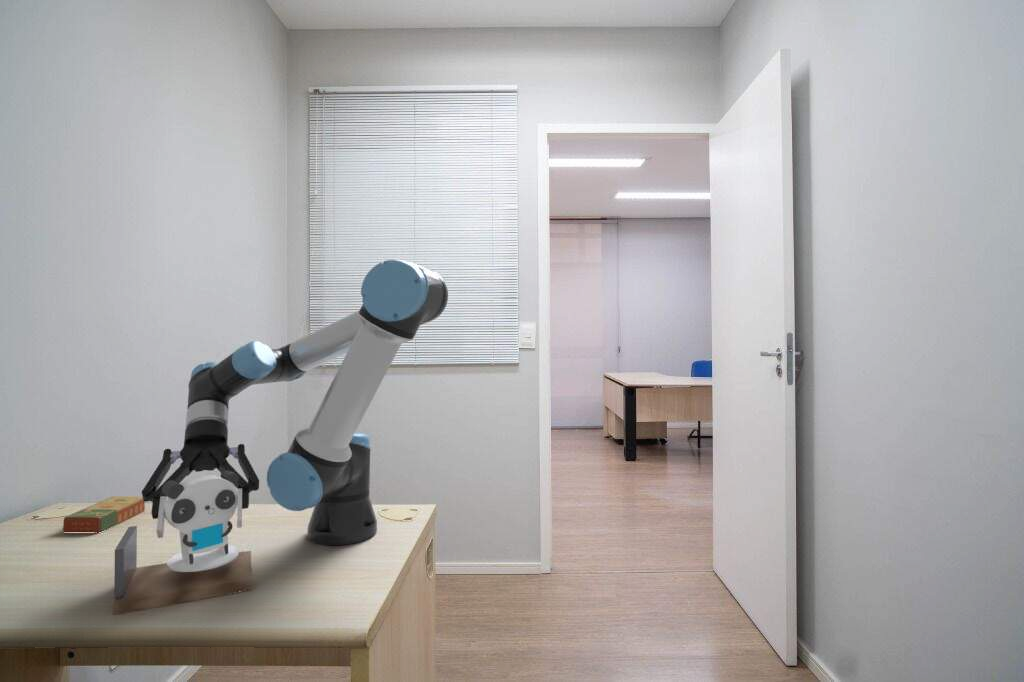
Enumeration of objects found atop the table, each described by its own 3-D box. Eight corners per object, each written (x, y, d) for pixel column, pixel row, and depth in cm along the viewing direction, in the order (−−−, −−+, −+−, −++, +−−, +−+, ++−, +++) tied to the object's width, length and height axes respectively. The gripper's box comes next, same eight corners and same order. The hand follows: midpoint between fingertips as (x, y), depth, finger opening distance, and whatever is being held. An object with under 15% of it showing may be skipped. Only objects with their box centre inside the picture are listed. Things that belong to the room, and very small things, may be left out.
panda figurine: (175, 579, 90) (176, 489, 90) (153, 560, 97) (154, 477, 97) (249, 557, 99) (250, 475, 99) (223, 542, 106) (224, 465, 106)
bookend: (136, 569, 99) (136, 525, 99) (123, 598, 88) (123, 548, 88) (128, 570, 98) (128, 526, 98) (114, 599, 87) (114, 550, 87)
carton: (145, 512, 138) (145, 495, 138) (100, 535, 122) (100, 516, 122) (111, 512, 138) (112, 495, 138) (61, 535, 122) (62, 516, 122)
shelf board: (250, 560, 108) (250, 550, 108) (251, 590, 95) (251, 578, 95) (129, 579, 99) (129, 568, 99) (112, 614, 86) (112, 602, 86)
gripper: (270, 435, 117) (273, 529, 103) (138, 443, 107) (121, 549, 93) (272, 414, 112) (275, 509, 99) (133, 420, 102) (115, 528, 88)
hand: (200, 529), depth 96 cm, fingers closed on panda figurine, 11 cm apart
